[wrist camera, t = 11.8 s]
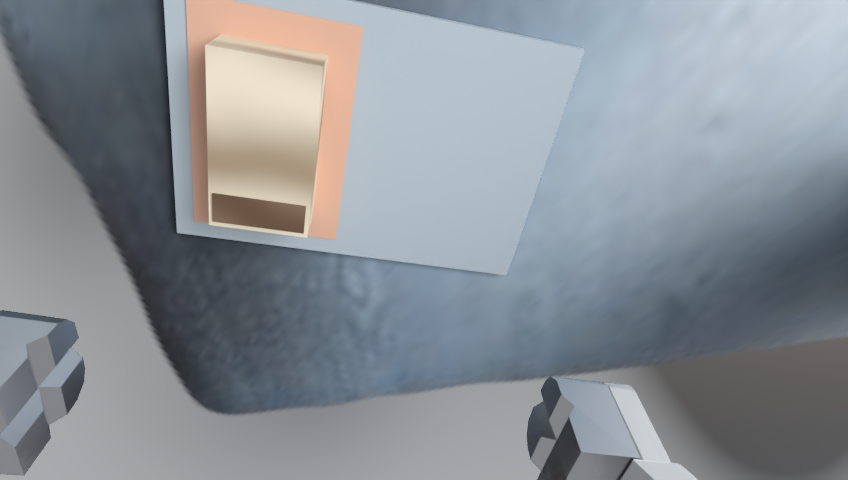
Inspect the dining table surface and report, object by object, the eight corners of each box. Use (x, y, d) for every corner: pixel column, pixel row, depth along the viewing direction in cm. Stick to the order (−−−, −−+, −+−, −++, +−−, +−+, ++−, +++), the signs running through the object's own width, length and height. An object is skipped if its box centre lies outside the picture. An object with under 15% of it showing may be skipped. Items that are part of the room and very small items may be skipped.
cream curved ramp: (221, 34, 24) (204, 45, 22) (328, 54, 25) (322, 66, 22) (222, 202, 28) (208, 226, 26) (312, 215, 29) (307, 238, 27)
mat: (581, 47, 26) (585, 50, 25) (505, 270, 33) (507, 276, 32) (166, -39, 23) (160, -39, 22) (180, 227, 30) (176, 233, 29)
